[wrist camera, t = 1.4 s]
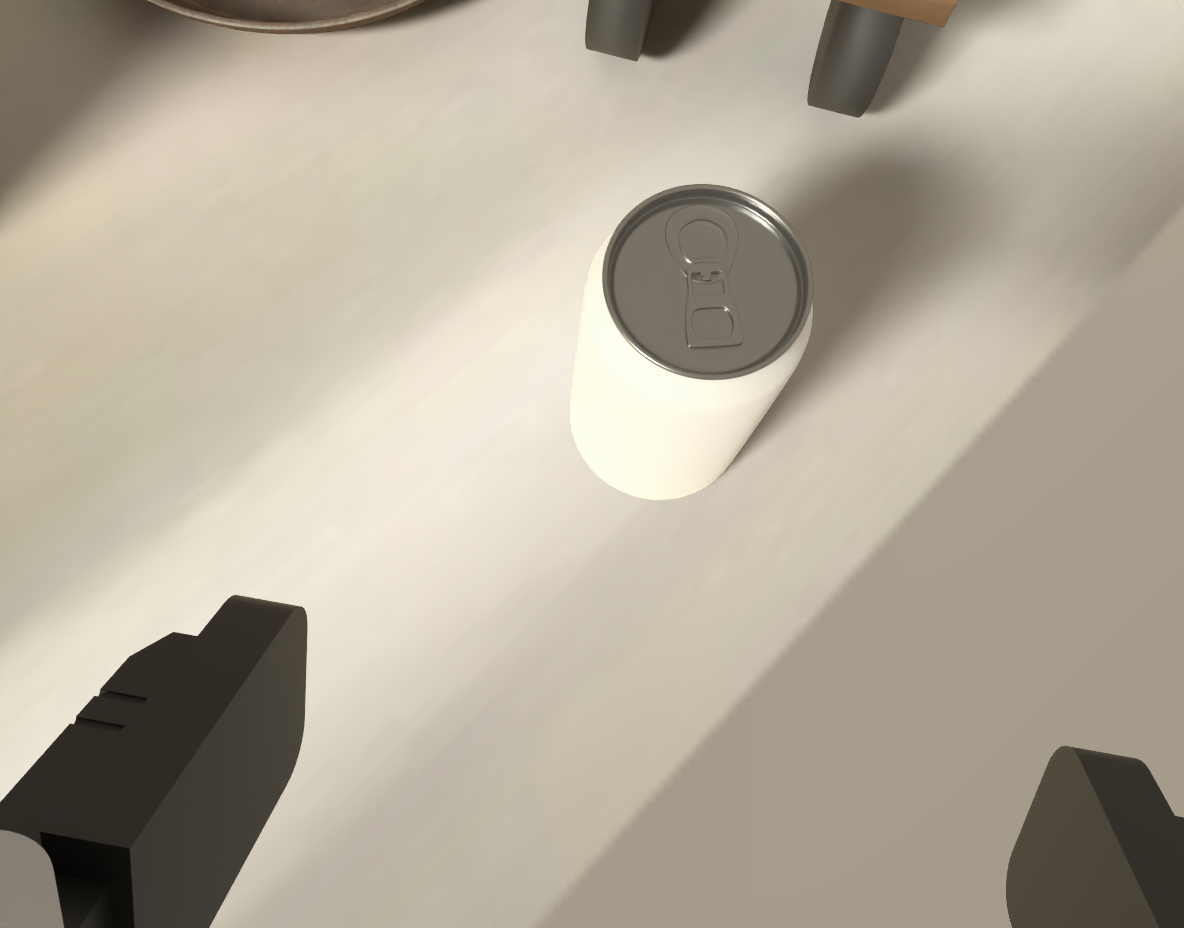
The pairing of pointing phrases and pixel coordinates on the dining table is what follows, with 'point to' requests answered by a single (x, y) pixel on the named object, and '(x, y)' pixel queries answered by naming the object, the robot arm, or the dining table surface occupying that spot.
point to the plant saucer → (287, 13)
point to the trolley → (844, 56)
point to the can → (686, 337)
